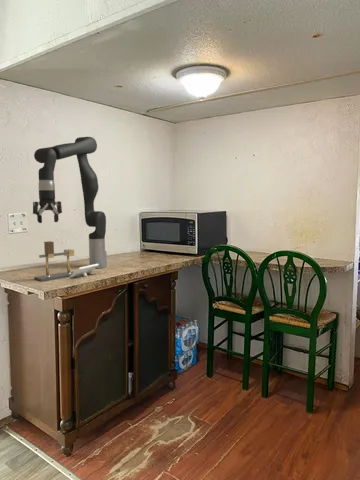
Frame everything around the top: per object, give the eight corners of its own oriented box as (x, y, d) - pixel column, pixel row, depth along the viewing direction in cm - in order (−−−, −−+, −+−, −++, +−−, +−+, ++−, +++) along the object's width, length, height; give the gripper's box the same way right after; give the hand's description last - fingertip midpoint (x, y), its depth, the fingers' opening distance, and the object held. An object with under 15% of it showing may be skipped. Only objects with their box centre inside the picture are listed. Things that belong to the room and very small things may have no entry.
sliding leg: (49, 274, 189) (48, 241, 187) (54, 275, 186) (53, 241, 184) (44, 274, 187) (42, 241, 185) (49, 276, 183) (47, 242, 182)
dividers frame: (69, 271, 198) (68, 249, 197) (74, 272, 195) (74, 249, 194) (36, 276, 185) (35, 252, 184) (41, 278, 181) (40, 253, 180)
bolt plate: (69, 273, 201) (69, 270, 201) (77, 275, 196) (77, 272, 196) (34, 279, 186) (34, 276, 186) (42, 281, 181) (42, 278, 181)
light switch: (82, 273, 186) (101, 269, 199) (78, 266, 187) (97, 262, 200) (73, 282, 190) (92, 277, 203) (68, 275, 191) (88, 270, 204)
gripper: (55, 190, 191) (57, 221, 193) (29, 189, 180) (30, 223, 182) (63, 189, 186) (65, 222, 188) (37, 189, 175) (38, 223, 177)
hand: (48, 222), depth 185 cm, fingers open, 8 cm apart
